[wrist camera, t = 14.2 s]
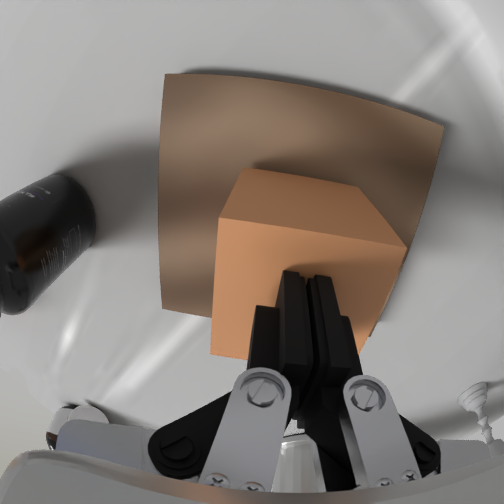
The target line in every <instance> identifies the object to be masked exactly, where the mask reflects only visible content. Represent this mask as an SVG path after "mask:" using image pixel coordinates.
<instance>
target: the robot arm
mask: <svg viewBox="0 0 504 504" xmlns="http://www.w3.org/2000/svg"><path fill="white" fill-rule="evenodd" d="M291 419H293V420H297V428H299V429H305V434H303V435H295V436H290V437H285V438H283V436H284V432H285V430H286V428H287V426H288V424H289V422H290V421H291ZM272 484H273V491H272V492H271V489H272ZM0 504H504V454H501V455H497V456H494V457H491V453H490V450H489V448H488V446H487V445H486V444H485V443H484V442H482V441H478V440H470V441H469V440H443V439H440V440H439V441H438V442H436V441H435V440H434V439H433V438H432V437H430V436H429V435H428V434H426V433H425V432H423V431H422V430H421V429H419V428H418V427H416V426H415V425H414V424H412V423H411V422H409V421H408V420H407V419H405V418H404V417H402V416H401V415H400V414H398V412H397V409H396V407H395V404H394V402H393V400H392V397H391V395H390V392H389V390H388V389H387V387H386V386H385V385H384V384H383V383H382V382H381V381H380V380H378V379H376V378H375V377H372V376H368V375H363V373H362V368H361V364H360V359H359V355H358V351H357V347H356V342H355V338H354V334H353V330H352V326H351V322H350V319H349V317H348V316H343V315H341V314H340V310H339V306H338V302H337V298H336V294H335V290H334V286H333V282H332V278H331V277H329V276H322V275H315V276H314V278H308V280H307V284H306V283H305V278H304V277H300V274H299V272H293V271H286V270H283V272H282V276H281V281H280V285H279V290H278V295H277V299H276V304H275V307H269V306H262V305H256V307H255V313H254V319H253V324H252V331H251V338H250V346H249V354H248V362H247V371H244V372H243V373H242V374H241V375H239V376H238V378H237V380H236V382H235V384H234V387H233V390H232V391H231V392H229V393H227V394H225V395H224V396H222V397H220V398H218V399H216V400H214V401H213V402H211V403H209V404H207V405H205V406H203V407H201V408H200V409H198V410H196V411H194V412H192V413H190V414H188V415H186V416H184V417H182V418H180V419H178V420H176V421H174V422H172V423H170V424H168V425H165V426H163V427H161V428H160V429H158V430H147V429H143V427H140V426H128V425H118V424H110V423H102V422H95V421H88V420H82V419H73V420H70V421H68V422H66V423H65V424H64V425H63V426H62V427H61V428H60V431H59V433H58V437H57V443H56V449H55V450H32V451H27V452H24V453H21V454H20V455H18V456H17V457H16V458H15V459H14V460H13V461H12V462H11V463H10V464H9V466H8V467H7V469H6V470H5V472H4V473H3V475H2V477H1V479H0Z"/></svg>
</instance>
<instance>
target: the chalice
mask: <svg viewBox="0 0 504 504" xmlns="http://www.w3.org/2000/svg"><path fill="white" fill-rule="evenodd" d="M486 388H487V383H486V382H481V383H478V384H476V385H474V386H472V387H470V388H469V389H468V390H466V391H465V392H464V393H463V394H462V395H461V396H460V397H459V399H458V401H457V403H458V404H460V405H462V407H463V408H465V410H466V411H469V412H472V411H474V412H476V413H477V415H478V423H477V424H480V425H481V426H482V434H483V435H484V436H485V438H486V441H487V446H488V448H489V450H490V453H491V457H494V456H497V455H501V454H504V442H503V441H502V440H501V439H497V440H494V439H493V437H492V433H491V429H492V427H490V426H489V425H488V422H487V419H488V416H486V415H485V414H484V412H483V404H484V403H485V402H486V399H487V389H486Z"/></svg>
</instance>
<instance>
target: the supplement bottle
mask: <svg viewBox="0 0 504 504" xmlns="http://www.w3.org/2000/svg"><path fill="white" fill-rule="evenodd" d="M94 233H95V216H94V211H93V207H92V204H91V202H90V200H89V198H88V196H87V194H86V193H85V191H84V190H83V189H82V187H81V186H80V185H79V184H78V183H76V182H75V181H74V180H72V179H71V178H69V177H67V176H64V175H57V174H56V175H50V176H47V177H45V178H43V179H41V180H38V181H36V182H34V183H32V184H30V185H28V186H26V187H25V188H23V189H21V190H19V191H17V192H15V193H13V194H12V195H10V196H8V197H6V198H4V199H3V200H1V201H0V317H1V313H4V314H7V315H18V314H21V313H23V312H25V311H26V310H27V309H28V308H29V307H30V306H31V305H32V304H33V303H34V302H35V301H36V300H37V299H38V298H39V297H40V296H41V294H42V293H43V292H44V291H45V290H46V289H47V288H48V287H49V286H50V285H51V284H52V283H53V282H54V281H55V280H56V279H57V278H58V277H59V276H60V275H61V274H62V273H63V272H64V271H65V270H66V269H67V268H68V267H69V266H70V265H71V264H72V263H73V262H74V261H75V260H76V259H77V258H78V257H79V256H80V255H81V254H82V253H83V252H84V251H85V250H86V249H87V248H88V247H89V245H90V244H91V242H92V240H93V237H94Z"/></svg>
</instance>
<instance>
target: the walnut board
mask: <svg viewBox="0 0 504 504" xmlns="http://www.w3.org/2000/svg"><path fill="white" fill-rule="evenodd" d="M443 131H444V126H442V125H439V124H437V123H434V122H432V121H429V120H426V119H424V118H421V117H419V116H416V115H413V114H410V113H407V112H405V111H402V110H399V109H396V108H393V107H389V106H386V105H383V104H380V103H376V102H373V101H369V100H366V99H362V98H359V97H355V96H351V95H347V94H343V93H339V92H334V91H330V90H325V89H320V88H316V87H310V86H305V85H300V84H294V83H288V82H281V81H274V80H267V79H259V78H250V77H239V76H227V75H210V74H165V79H164V89H163V99H162V111H161V125H160V143H159V168H158V239H159V265H160V283H161V298H162V309H167V310H172V311H177V312H182V313H187V314H193V315H198V316H204V317H210V318H212V308H213V291H214V275H215V260H216V246H217V233H218V221H219V216H220V214H221V212H222V210H223V208H224V206H225V204H226V202H227V200H228V197H229V195H230V193H231V191H232V189H233V187H234V185H235V183H236V181H237V179H238V177H239V175H240V173H241V171H242V169H243V167H245V168H253V169H260V170H267V171H274V172H280V173H286V174H292V175H298V176H304V177H310V178H315V179H321V180H326V181H331V182H336V183H341V184H346V185H351V186H356V187H358V188H359V189H360V190H361V191H362V192H363V194H364V195H365V196H366V197H367V198H368V199H369V201H370V202H371V203H372V204H373V205H374V207H375V208H376V209H377V210H378V211H379V213H380V214H381V215H382V216H383V217H384V219H385V220H386V221H387V222H388V224H389V225H390V226H391V228H392V229H393V230H394V231H395V233H396V234H397V235H398V237H399V238H400V239H401V240H402V242H403V243H404V244H405V246H406V247H407V250H406V253H405V255H404V258H403V260H402V263H401V265H400V268H399V270H398V273H397V275H396V278H395V280H394V282H393V285H392V287H391V289H390V292H389V294H388V296H387V298H386V301H385V303H384V305H383V307H382V309H381V311H380V314H379V316H378V318H377V320H376V322H375V324H374V326H373V328H372V330H371V332H370V334H369V336H368V337H370V336H371V334H372V332H373V330H374V328H375V326H376V324H377V322H378V320H379V318H380V316H381V314H382V312H383V310H384V308H385V305H386V303H387V301H388V299H389V297H390V294H391V292H392V290H393V288H394V285H395V283H396V281H397V278H398V276H399V274H400V271H401V269H402V266H403V264H404V261H405V259H406V256H407V254H408V251H409V248H410V246H411V243H412V240H413V237H414V235H415V232H416V229H417V226H418V223H419V220H420V217H421V214H422V211H423V208H424V205H425V202H426V198H427V195H428V192H429V188H430V185H431V181H432V178H433V174H434V170H435V166H436V162H437V158H438V154H439V150H440V145H441V141H442V136H443Z"/></svg>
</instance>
